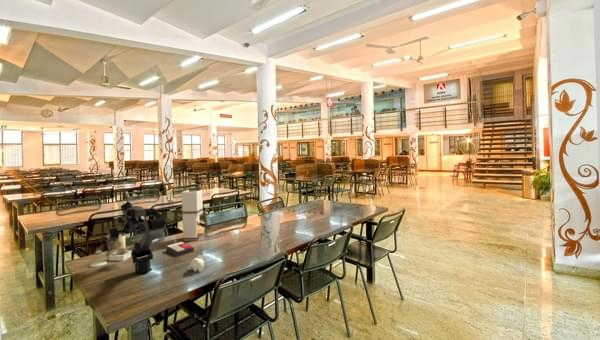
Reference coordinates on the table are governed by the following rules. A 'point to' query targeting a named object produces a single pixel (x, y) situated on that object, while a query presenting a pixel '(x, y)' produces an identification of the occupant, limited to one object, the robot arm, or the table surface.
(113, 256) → the pocket
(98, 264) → the coaster
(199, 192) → the tall white pillar
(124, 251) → the peg
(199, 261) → the white rounded lump
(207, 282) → the table surface
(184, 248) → the calculator
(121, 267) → the table surface
